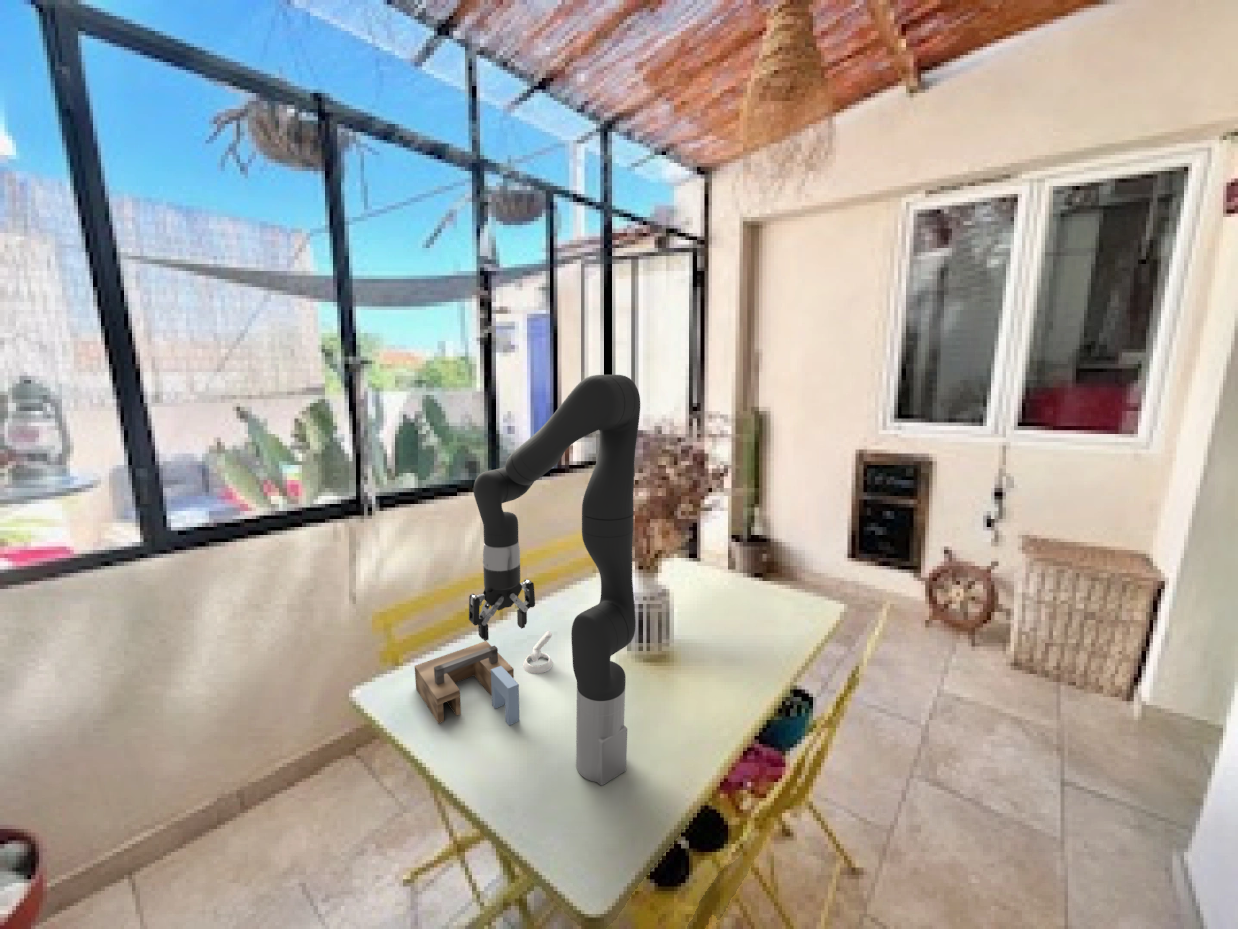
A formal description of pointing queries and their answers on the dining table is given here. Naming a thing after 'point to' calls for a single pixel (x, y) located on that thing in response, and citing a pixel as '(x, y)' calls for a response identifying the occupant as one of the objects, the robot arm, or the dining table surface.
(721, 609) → the dining table surface
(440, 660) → the wooden stand with handle
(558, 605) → the dining table surface
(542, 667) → the mortar and pestle
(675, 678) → the dining table surface
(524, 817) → the dining table surface
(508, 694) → the blue arch block
